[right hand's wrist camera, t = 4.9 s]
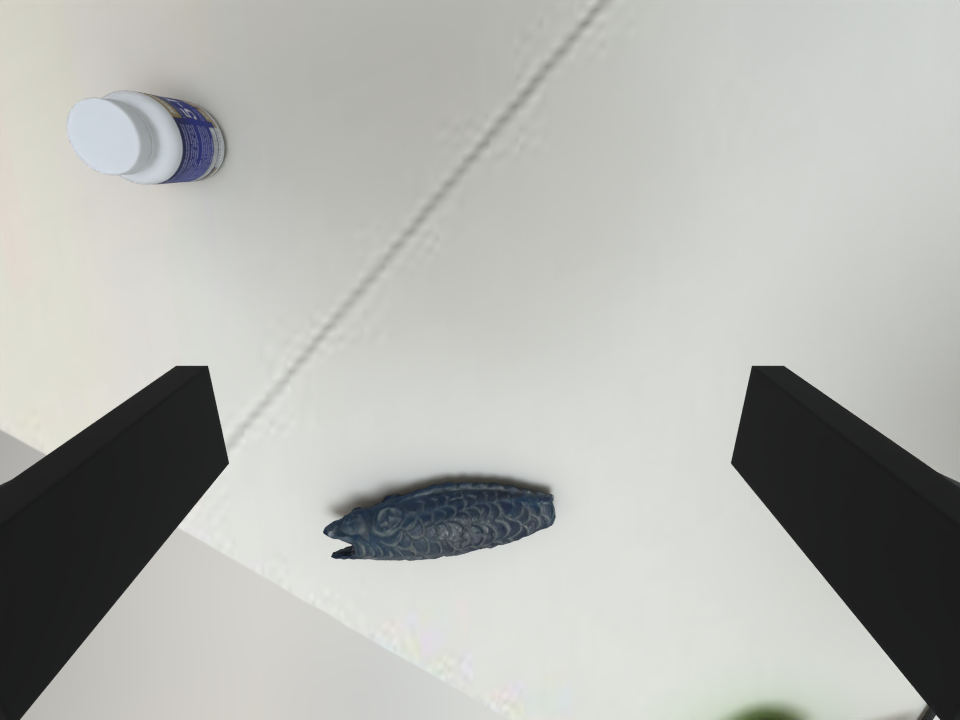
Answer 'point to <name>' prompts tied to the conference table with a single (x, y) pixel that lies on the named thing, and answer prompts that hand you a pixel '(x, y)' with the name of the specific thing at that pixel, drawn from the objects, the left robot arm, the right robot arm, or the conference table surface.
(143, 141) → the pill bottle
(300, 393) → the conference table surface
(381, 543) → the fish model
